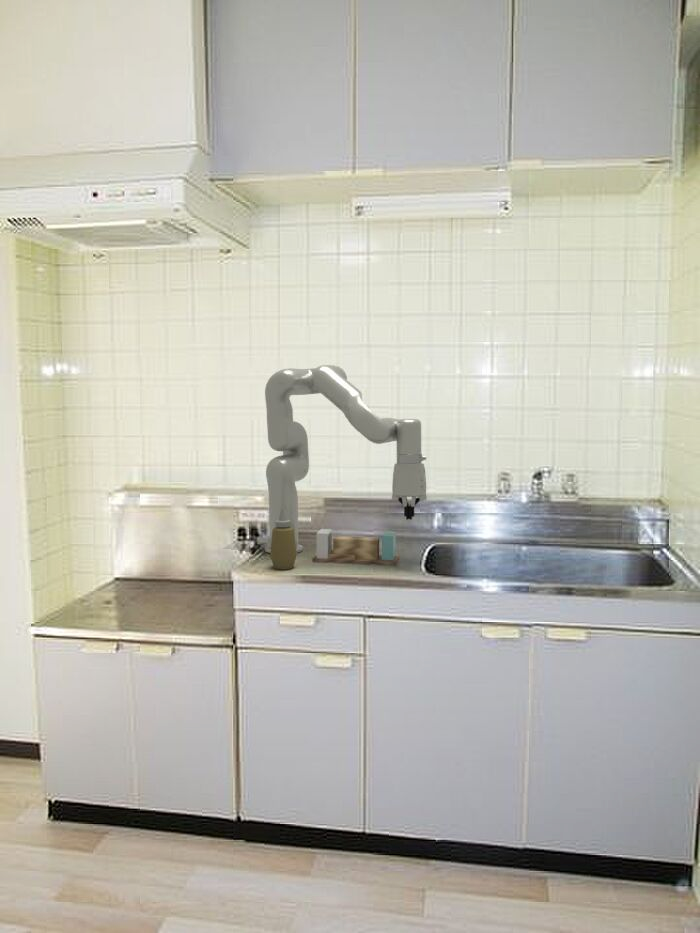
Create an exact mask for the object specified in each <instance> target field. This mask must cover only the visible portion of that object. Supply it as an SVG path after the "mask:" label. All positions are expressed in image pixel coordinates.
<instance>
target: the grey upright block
mask: <svg viewBox="0 0 700 933" xmlns="http://www.w3.org/2000/svg"><path fill="white" fill-rule="evenodd" d="M315 535H316V536H315V537H316V555H317V558H325V559H328V554H332V550H333V529H332V528H331V529H330V528H320V530H319V531H317V532H316V534H315Z"/></svg>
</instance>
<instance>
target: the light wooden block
mask: <svg viewBox="0 0 700 933" xmlns="http://www.w3.org/2000/svg"><path fill="white" fill-rule="evenodd" d="M332 550H333V554H334V555H355V559H375V560H377V559H378V558H379V555H380V537H365V536H361V537H360V536H345V535H344V536H343V535H342V536H341V535H337V536H336V535H335V536H334V537H332Z"/></svg>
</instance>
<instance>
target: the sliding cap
mask: <svg viewBox="0 0 700 933" xmlns="http://www.w3.org/2000/svg"><path fill="white" fill-rule="evenodd" d="M381 555H382V560H391V561H393V560H394V558H395V556H397V532H396V531H391V530H390V531H387V530H385V531H384V532H383V533H382V535H381Z"/></svg>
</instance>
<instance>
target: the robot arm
mask: <svg viewBox="0 0 700 933" xmlns="http://www.w3.org/2000/svg"><path fill="white" fill-rule="evenodd" d="M313 394H314V395H315V394H321V395H322V396H324V397H325V398H326V399H327V400H328V401H329V402H331V403H332V404H333V405H334V406H335V407H336V408H337V409H339V410H340V411H341V412H342V413H343V415H344V416H345V418H346V419H347V421H348V422H349V424H350V425H351V426H352V427H353V428H354V430H356V431H357V432H358V433H359V434H361V435H362V436H363V437H364V438H365V439H367V440H368V441H370V442H371V443H373V444H376V445H377V444H378V445H379V444H380V445H382V444H387V443H391V442H396V463H394V466H393V473H392V486H391V487H392V490H391V492H392V495H391V499H392V500H394V501H397V502H399V503H400V504H401V505H402V506H403V508H404V509H403V510H404V511H403V512H404V514H403V515H404V517H405V518H406V520H407V521H408V520H411V521H412V520H413V517H415V506H416V505H417V504H418V503H419V502H422V501H426V500H427V499H428V496H427V477H426V476H427V474H426V468H425V463H422V462H423V461H427V455H423V454H422V423H421V421H420V420H419V419H417V418H402V419H399V418H392V417H381V418H380V417H379V416H378V415H376V413H374V412H373V411H371V410H370V408H369V407H368V406H367V405H366V404H365V403H364V401H363V394H362V392H361V390H359V388H357V387H356V386H355V385H354V384H352V383H351V382H350V381H349V379H348V378H347V373H346V372H345V371H344V369H343V368H341V367H340V366H338V365H334V364H330V365H329V364H322V365H319V366H317V367H315V368H313V367H312V368H283V369H280V370H278V371H276V372H275V373H273V374H272V375H271V376H270V377H269V378H268V380H267V382H266V385H265V388H264V396H265V398H264V400H265V407H266V427H267V440H268V445H269V447H270V449H272V450H274V451H276V452H282V455H281V454H280V455H278V456H275V457H274V458H272V459H271V460H270V461H269V462H268V464H267V466H266V470H265V478H266V482H267V487H268V488H267V489H268V517H269V518H268V519H269V520H268V525H269V527H268V528H269V531H268V532H269V536H266V537H262V536H261V537H260V536H258V537H257V538H256V539H257V543H258V544H259V545H266V546H265V547H264V551H265V552H266V553H268V554H270V552H271V540H272V530H273V528H275V527H276V526H275V521H276V520H279V517H280V512H281V509H282V508H285V511H286V515H287V520H291V526H290V527H292V528H293V529H294V533H295V542H296V552H297V554H298V553H301V552H302V551H303V550H304V546H303V545H301V544H299V496H298V490H297V486H296V482H299V481H301V480H303V479H305V478H306V476H307V475H308V473H309V469H310V458H309V457H310V456H309V441H308V440H309V439H308V432H307V431H306V429H305V427H304V426H303V425H302V424H301V423H300V422H298V421H295V420H294V415H293V414H294V412H293V410H294V409H293V405H292V402H291V399H290V397H291V396H305V395H307V396H308V395H313ZM408 497H409V498H410V497H411V500H410V504H409V502H408Z"/></svg>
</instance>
